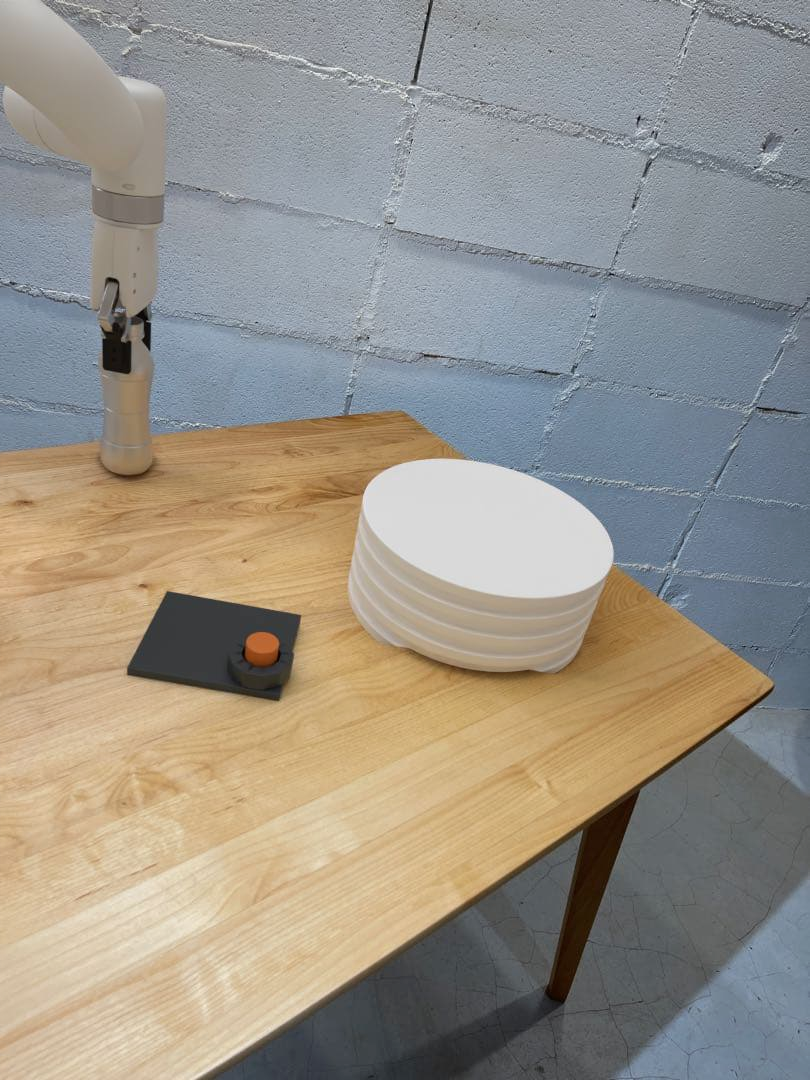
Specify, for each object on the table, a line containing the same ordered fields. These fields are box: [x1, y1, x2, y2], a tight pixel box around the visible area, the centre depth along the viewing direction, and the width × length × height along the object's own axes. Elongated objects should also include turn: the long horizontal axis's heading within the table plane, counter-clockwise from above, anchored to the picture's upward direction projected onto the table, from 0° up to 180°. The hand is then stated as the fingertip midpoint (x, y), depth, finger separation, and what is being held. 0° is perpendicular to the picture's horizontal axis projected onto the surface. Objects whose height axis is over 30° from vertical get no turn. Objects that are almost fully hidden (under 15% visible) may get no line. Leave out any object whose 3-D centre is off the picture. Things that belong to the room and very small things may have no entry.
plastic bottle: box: [97, 316, 156, 476], centre depth 101 cm, size 6×7×20 cm
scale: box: [126, 590, 302, 702], centre depth 79 cm, size 14×12×4 cm
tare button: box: [245, 632, 279, 667], centre depth 76 cm, size 3×3×2 cm
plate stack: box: [346, 458, 615, 675], centre depth 92 cm, size 28×28×12 cm
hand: (127, 360), depth 99 cm, fingers closed on plastic bottle, 6 cm apart
